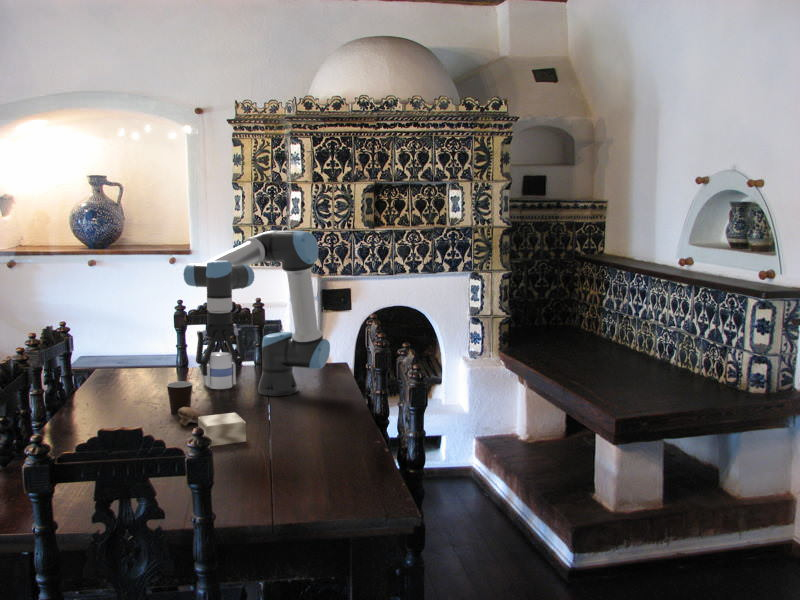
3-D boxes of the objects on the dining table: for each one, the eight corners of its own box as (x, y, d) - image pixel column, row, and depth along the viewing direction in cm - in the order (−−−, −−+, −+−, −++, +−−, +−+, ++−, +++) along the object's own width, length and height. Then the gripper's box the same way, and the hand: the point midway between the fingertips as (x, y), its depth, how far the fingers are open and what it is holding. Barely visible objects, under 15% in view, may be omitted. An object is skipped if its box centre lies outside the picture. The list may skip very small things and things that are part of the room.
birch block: (236, 430, 243) (235, 412, 242) (246, 441, 232) (245, 421, 231) (198, 435, 237) (198, 416, 236) (206, 446, 227) (206, 426, 226)
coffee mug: (186, 416, 259) (185, 387, 257) (163, 414, 260) (162, 386, 259) (201, 407, 270) (200, 380, 269) (179, 406, 272) (178, 378, 270)
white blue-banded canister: (229, 382, 237) (229, 351, 236) (235, 387, 231) (234, 355, 230) (206, 385, 234) (205, 353, 233) (211, 390, 228) (211, 357, 226)
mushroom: (175, 419, 243) (183, 402, 246) (170, 422, 250) (179, 405, 253) (197, 429, 245) (205, 412, 248) (193, 432, 252) (201, 415, 255)
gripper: (248, 308, 237) (249, 379, 240) (183, 311, 228) (185, 385, 231) (255, 311, 231) (255, 384, 234) (188, 314, 222) (190, 390, 225)
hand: (220, 384), depth 232 cm, fingers closed on white blue-banded canister, 7 cm apart
